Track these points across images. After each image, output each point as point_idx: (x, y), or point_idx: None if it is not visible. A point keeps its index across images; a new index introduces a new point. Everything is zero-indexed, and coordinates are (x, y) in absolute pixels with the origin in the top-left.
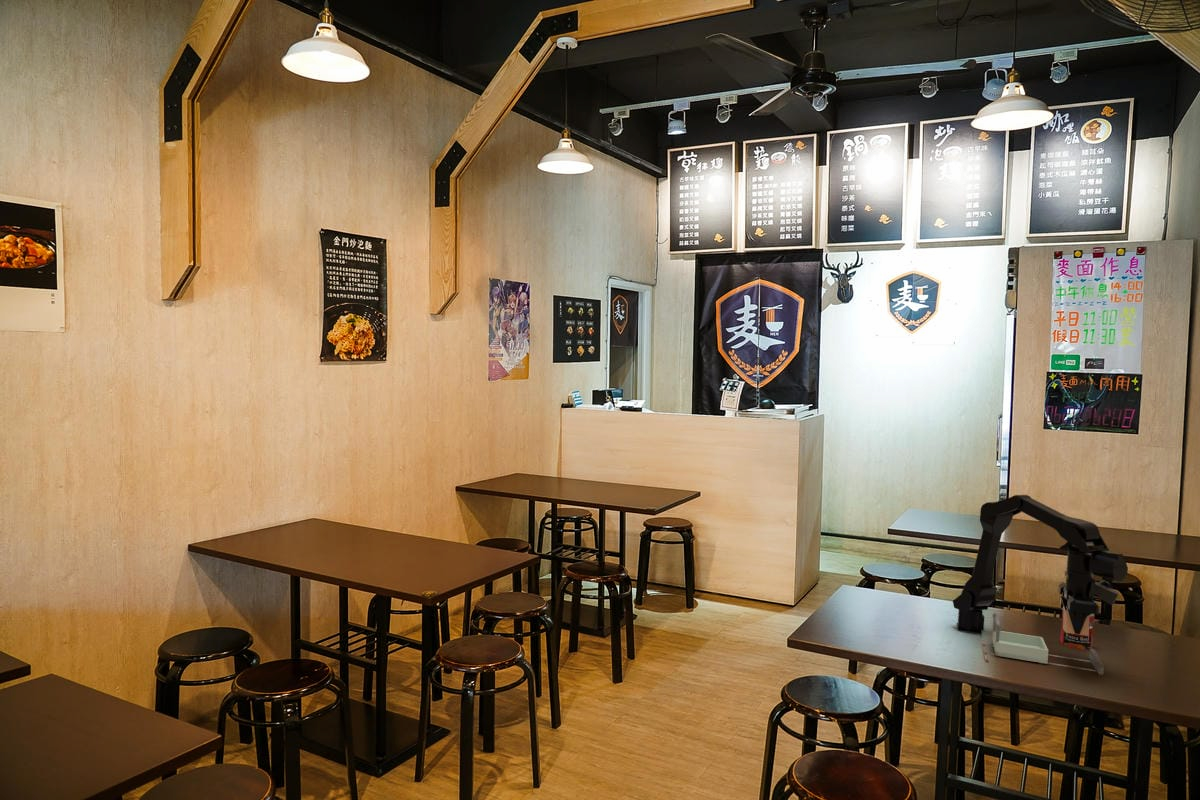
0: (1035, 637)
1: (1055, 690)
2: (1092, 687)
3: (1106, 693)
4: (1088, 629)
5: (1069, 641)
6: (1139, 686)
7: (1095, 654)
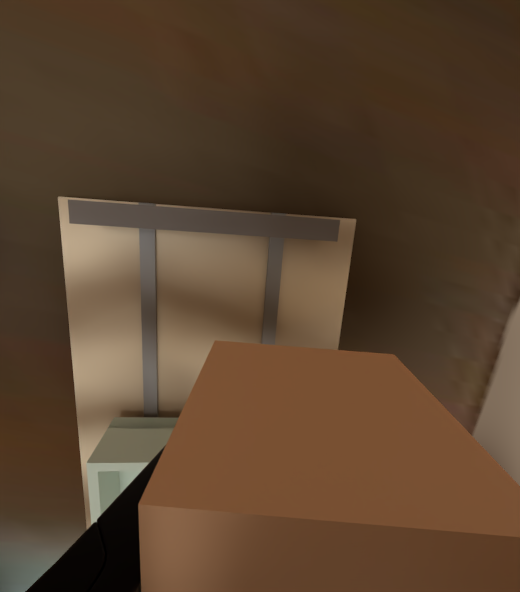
0: (101, 487)
1: (481, 406)
2: (420, 284)
3: (466, 248)
4: (421, 388)
5: None
6: (345, 73)
7: (178, 220)
